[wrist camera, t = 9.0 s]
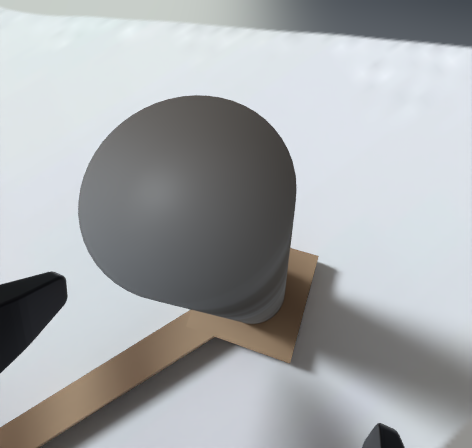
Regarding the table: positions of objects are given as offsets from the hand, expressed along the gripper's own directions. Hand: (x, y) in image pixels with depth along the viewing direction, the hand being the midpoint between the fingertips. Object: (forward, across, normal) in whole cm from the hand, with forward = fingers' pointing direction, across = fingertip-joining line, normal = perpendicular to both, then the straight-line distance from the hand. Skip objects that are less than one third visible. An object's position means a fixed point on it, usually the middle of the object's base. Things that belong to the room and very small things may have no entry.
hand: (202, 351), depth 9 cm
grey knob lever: (+3, +8, +8) cm, 12 cm away
